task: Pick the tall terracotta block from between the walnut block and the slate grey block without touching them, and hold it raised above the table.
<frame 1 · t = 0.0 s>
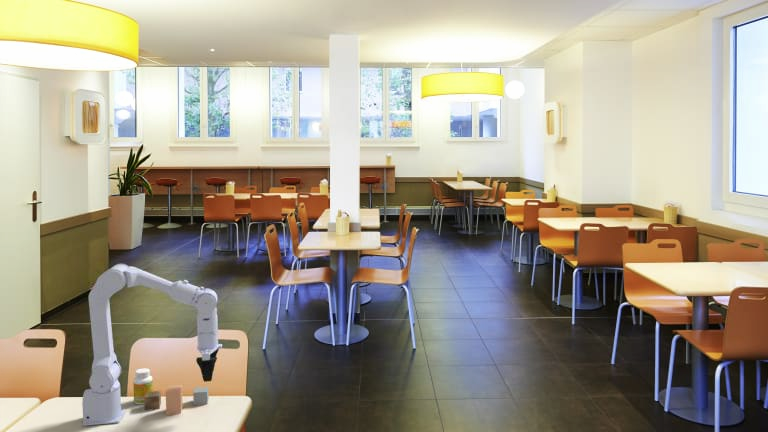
hand: (208, 376, 164), 10 cm above the table, tool pointing down, fingers open, 7 cm apart
terracotta block: (174, 411, 164), on the table
supplement bottle: (143, 401, 171), on the table
slate block: (201, 402, 170), on the table
walnut block: (153, 407, 167), on the table
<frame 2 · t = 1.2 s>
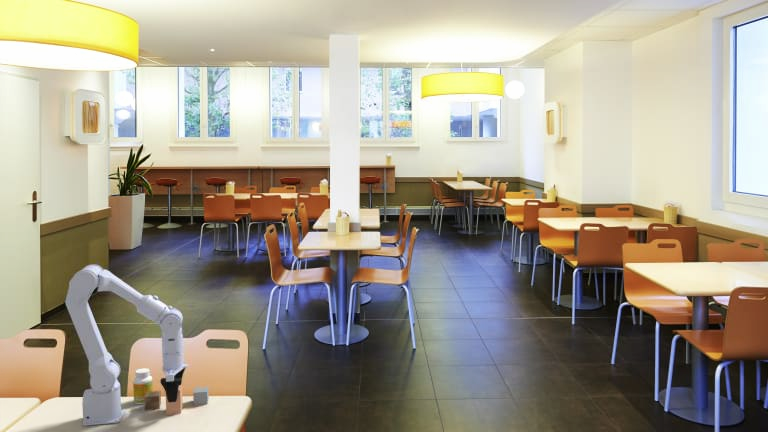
hand: (174, 396, 163), 4 cm above the table, tool pointing down, fingers open, 7 cm apart
nothing on the table moved.
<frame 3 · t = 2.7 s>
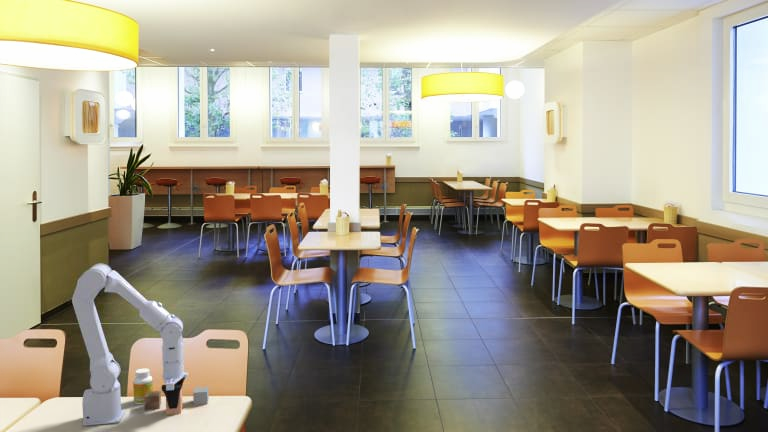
hand: (174, 404, 163), 2 cm above the table, tool pointing down, fingers closed on terracotta block, 4 cm apart
terracotta block: (174, 411, 164), on the table, touching gripper
everything else where it was.
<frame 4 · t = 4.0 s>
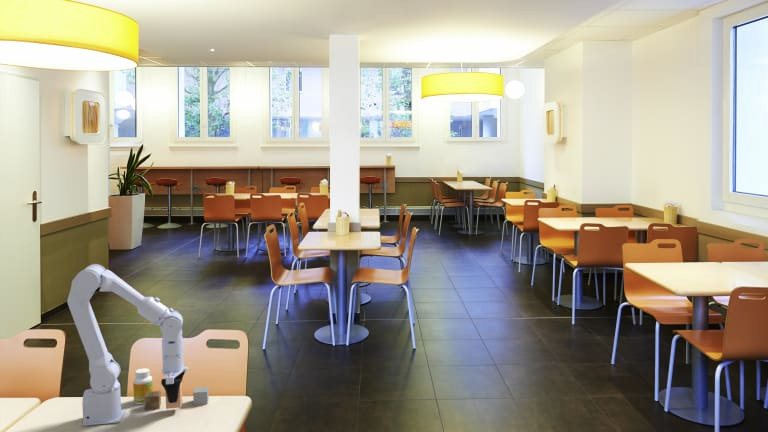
hand: (174, 399, 163), 4 cm above the table, tool pointing down, fingers closed on terracotta block, 4 cm apart
terracotta block: (174, 405, 163), point 2 cm above the table, touching gripper
everything else where it was.
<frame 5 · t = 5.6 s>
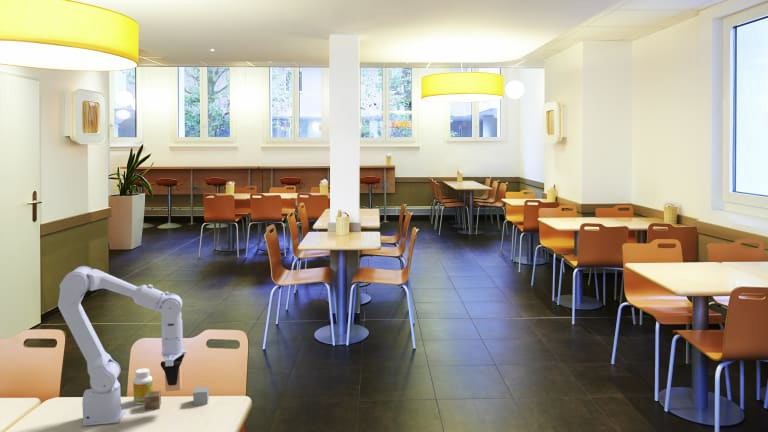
hand: (173, 381, 163), 9 cm above the table, tool pointing down, fingers closed on terracotta block, 4 cm apart
terracotta block: (173, 388, 163), point 7 cm above the table, touching gripper
everything else where it was.
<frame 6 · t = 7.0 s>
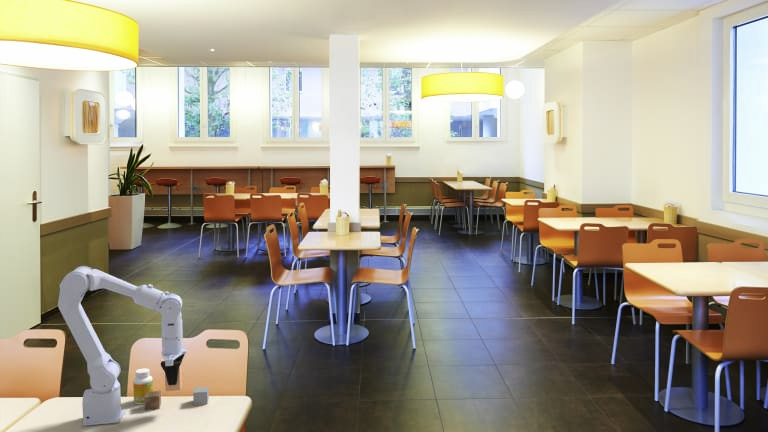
hand: (173, 381, 163), 9 cm above the table, tool pointing down, fingers closed on terracotta block, 4 cm apart
terracotta block: (173, 388, 163), point 7 cm above the table, touching gripper
everything else where it was.
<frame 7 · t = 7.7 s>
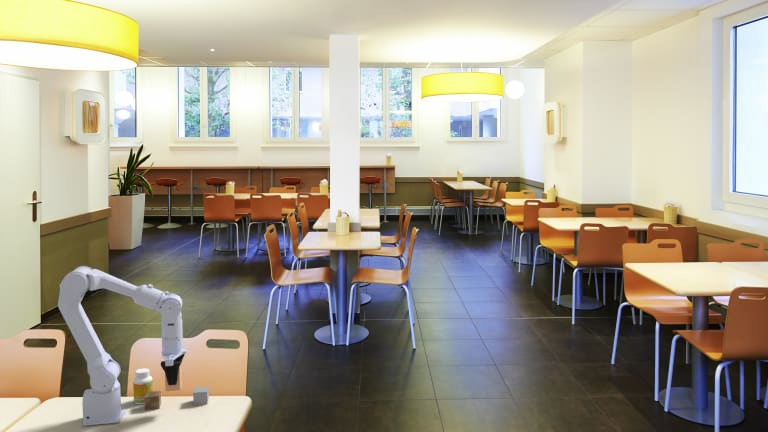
hand: (173, 381, 163), 9 cm above the table, tool pointing down, fingers closed on terracotta block, 4 cm apart
terracotta block: (173, 388, 163), point 7 cm above the table, touching gripper
everything else where it was.
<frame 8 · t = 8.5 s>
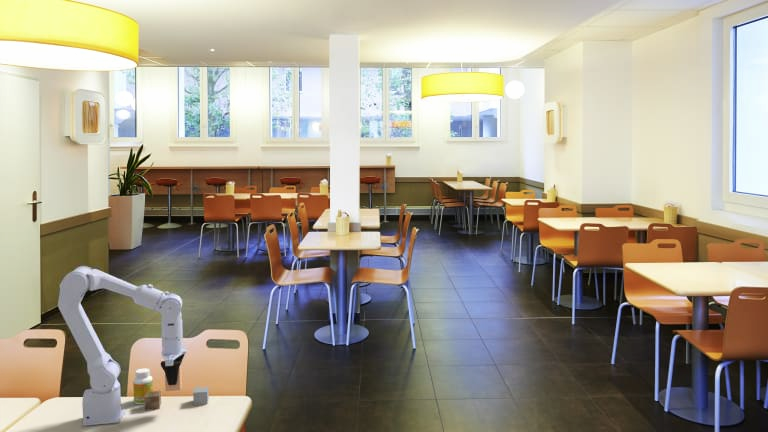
hand: (173, 381, 163), 9 cm above the table, tool pointing down, fingers closed on terracotta block, 4 cm apart
terracotta block: (173, 388, 163), point 7 cm above the table, touching gripper
everything else where it was.
at the end: terracotta block point 7.0 cm above the table; walnut block moved 0.5 cm from its start; slate block moved 0.1 cm from its start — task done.
